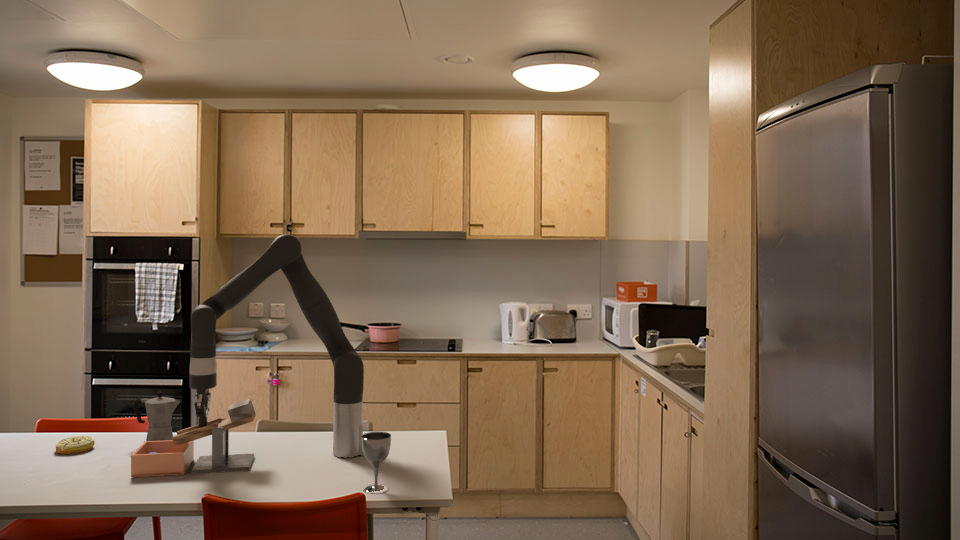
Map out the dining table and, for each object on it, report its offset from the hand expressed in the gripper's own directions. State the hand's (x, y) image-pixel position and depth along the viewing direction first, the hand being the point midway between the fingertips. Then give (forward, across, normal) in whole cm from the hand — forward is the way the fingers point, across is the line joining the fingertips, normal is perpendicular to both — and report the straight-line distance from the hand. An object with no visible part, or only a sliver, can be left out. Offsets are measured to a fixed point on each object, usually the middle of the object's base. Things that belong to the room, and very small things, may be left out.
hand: (202, 428), depth 199 cm
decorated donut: (+12, +24, +43) cm, 51 cm away
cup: (+12, 0, +11) cm, 16 cm away
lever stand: (+12, 0, -5) cm, 13 cm away
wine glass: (+12, -28, -50) cm, 59 cm away
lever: (+1, 0, -4) cm, 4 cm away
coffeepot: (+12, +25, +19) cm, 33 cm away
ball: (+8, 0, +14) cm, 16 cm away
